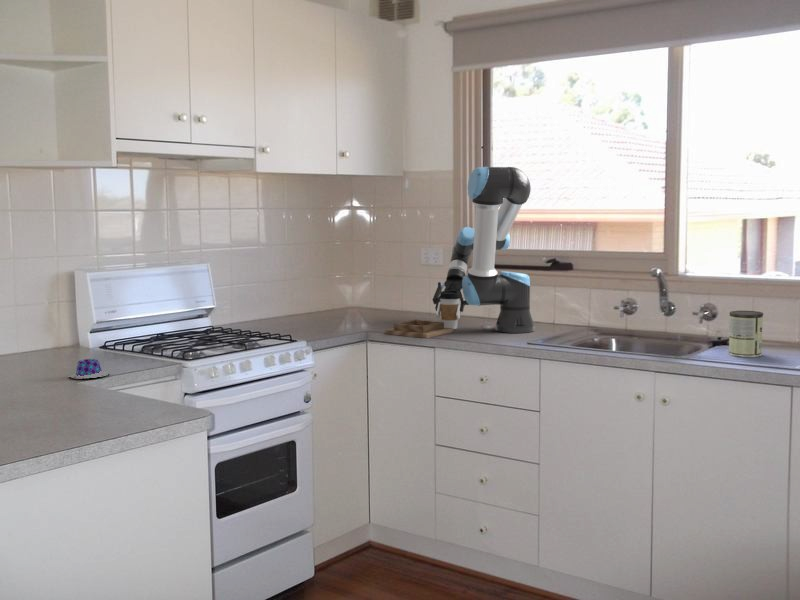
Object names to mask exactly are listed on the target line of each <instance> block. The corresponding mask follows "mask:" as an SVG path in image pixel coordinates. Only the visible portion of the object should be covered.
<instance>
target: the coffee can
mask: <svg viewBox="0 0 800 600" xmlns="http://www.w3.org/2000/svg"><path fill="white" fill-rule="evenodd" d="M763 316H764V312H761V311H757V310H732V311H729V339H728V355H729V356H732V355H733V356H732V357H737V356H741V357H740V358H758V357H759V356H760V357H761V356H763V355H762V353H763V351H762V350H763V349H762V346H763V322H764V321H763V318H764V317H763Z"/></svg>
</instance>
